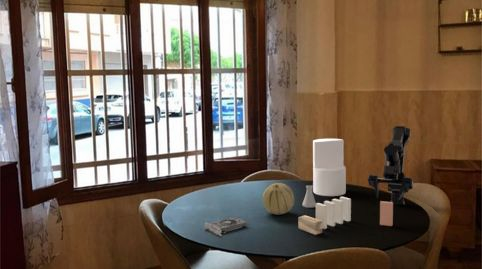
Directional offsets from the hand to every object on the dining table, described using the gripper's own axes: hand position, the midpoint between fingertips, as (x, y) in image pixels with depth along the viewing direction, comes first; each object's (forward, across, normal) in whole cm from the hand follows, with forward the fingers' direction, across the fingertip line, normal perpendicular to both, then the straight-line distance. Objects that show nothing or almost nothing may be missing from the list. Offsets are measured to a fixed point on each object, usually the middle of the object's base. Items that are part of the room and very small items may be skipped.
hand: (387, 198), depth 207 cm
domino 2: (+16, -22, 0) cm, 28 cm away
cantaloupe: (+11, -49, +4) cm, 50 cm away
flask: (-1, -39, +16) cm, 42 cm away
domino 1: (+19, -25, -4) cm, 32 cm away
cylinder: (-22, -37, +37) cm, 57 cm away
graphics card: (+31, -61, -14) cm, 70 cm away
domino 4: (+10, -18, +6) cm, 21 cm away
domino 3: (+13, -20, +3) cm, 24 cm away
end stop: (+23, -28, -8) cm, 37 cm away
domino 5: (+10, 0, +5) cm, 11 cm away
